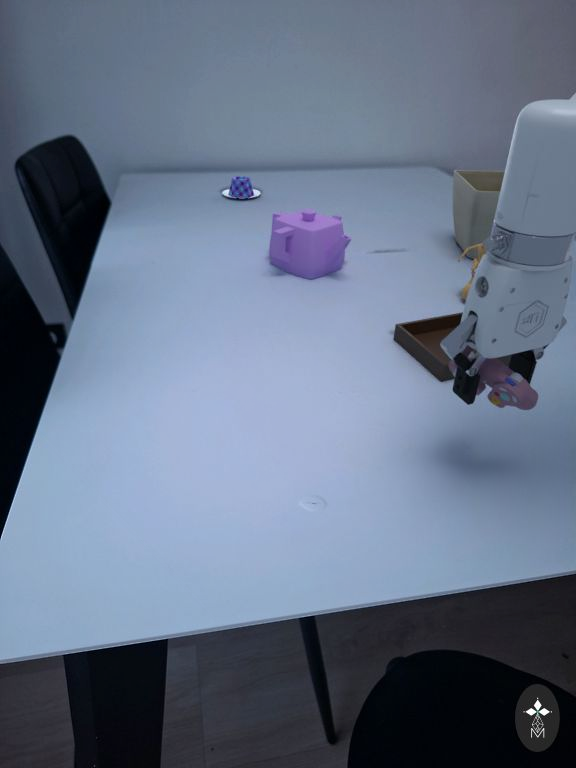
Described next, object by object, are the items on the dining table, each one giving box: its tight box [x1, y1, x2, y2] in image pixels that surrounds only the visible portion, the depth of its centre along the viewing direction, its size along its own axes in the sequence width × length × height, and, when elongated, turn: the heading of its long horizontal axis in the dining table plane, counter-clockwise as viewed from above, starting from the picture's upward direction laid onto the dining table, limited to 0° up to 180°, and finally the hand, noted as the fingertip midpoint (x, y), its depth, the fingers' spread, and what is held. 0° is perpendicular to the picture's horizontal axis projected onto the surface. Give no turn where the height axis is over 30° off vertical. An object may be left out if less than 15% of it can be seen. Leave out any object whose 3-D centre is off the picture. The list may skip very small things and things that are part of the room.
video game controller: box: [449, 351, 539, 411], centre depth 61 cm, size 10×5×7 cm, turn 39°
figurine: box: [457, 242, 487, 302], centre depth 104 cm, size 8×6×12 cm
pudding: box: [221, 175, 261, 200], centre depth 166 cm, size 12×12×5 cm
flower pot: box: [452, 169, 505, 260], centre depth 127 cm, size 19×19×17 cm
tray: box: [393, 311, 512, 382], centre depth 90 cm, size 17×14×3 cm
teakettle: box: [268, 208, 352, 280], centre depth 117 cm, size 17×17×12 cm
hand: (490, 389), depth 62 cm, fingers closed on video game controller, 7 cm apart
